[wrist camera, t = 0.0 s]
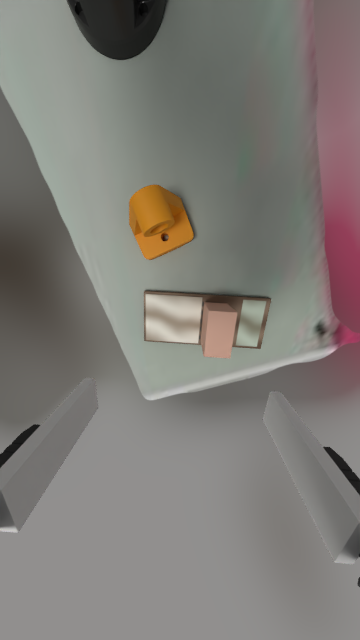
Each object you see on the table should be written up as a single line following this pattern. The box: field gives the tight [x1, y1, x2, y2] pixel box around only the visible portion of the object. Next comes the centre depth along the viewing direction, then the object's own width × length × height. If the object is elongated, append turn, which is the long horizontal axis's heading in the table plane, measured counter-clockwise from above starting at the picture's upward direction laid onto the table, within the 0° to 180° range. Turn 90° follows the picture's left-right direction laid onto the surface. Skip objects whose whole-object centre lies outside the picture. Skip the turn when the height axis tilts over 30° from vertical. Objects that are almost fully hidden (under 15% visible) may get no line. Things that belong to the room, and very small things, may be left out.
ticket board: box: [144, 291, 271, 349], centre depth 39 cm, size 12×28×2 cm, turn 87°
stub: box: [201, 302, 237, 358], centre depth 34 cm, size 9×5×8 cm, turn 177°
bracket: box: [129, 185, 194, 260], centre depth 29 cm, size 11×7×12 cm, turn 113°
